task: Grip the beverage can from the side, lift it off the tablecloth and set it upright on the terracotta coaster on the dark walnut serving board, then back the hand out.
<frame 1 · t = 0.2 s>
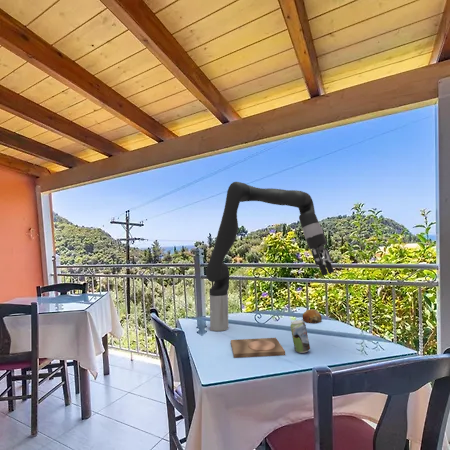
hand: (328, 273, 123), 31 cm above the table, tool tilted 20°, fingers open, 8 cm apart
serving board: (256, 348, 126), on the table
bread roll: (312, 321, 164), on the table
beverage can: (300, 351, 122), on the table
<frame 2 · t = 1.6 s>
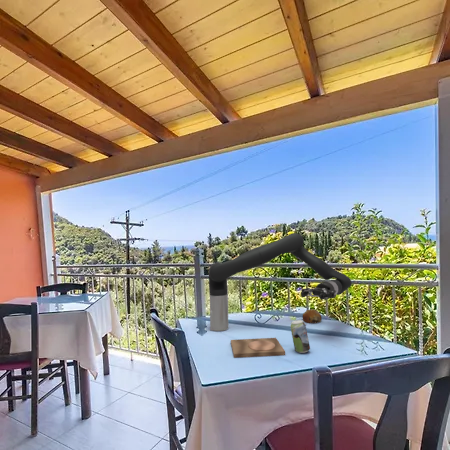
hand: (311, 295, 131), 20 cm above the table, tool horizontal, fingers open, 8 cm apart
nothing on the table moved.
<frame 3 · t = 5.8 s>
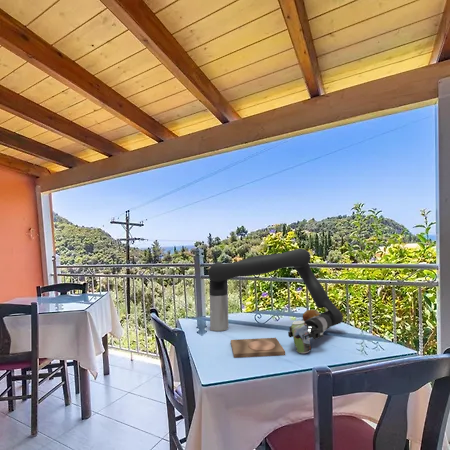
hand: (296, 336, 121), 7 cm above the table, tool horizontal, fingers open, 5 cm apart
beverage can: (301, 352, 122), on the table, touching gripper
everything else where it was.
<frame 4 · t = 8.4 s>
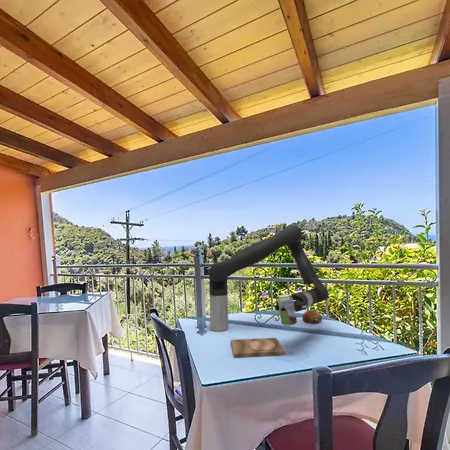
hand: (280, 308, 122), 17 cm above the table, tool horizontal, fingers closed on beverage can, 3 cm apart
beverage can: (287, 325, 122), point 11 cm above the table, touching gripper
everything else where it was.
when the fingers open (10 cm above the table, at t = 10.7 s): beverage can drops 1 cm, resting on serving board.
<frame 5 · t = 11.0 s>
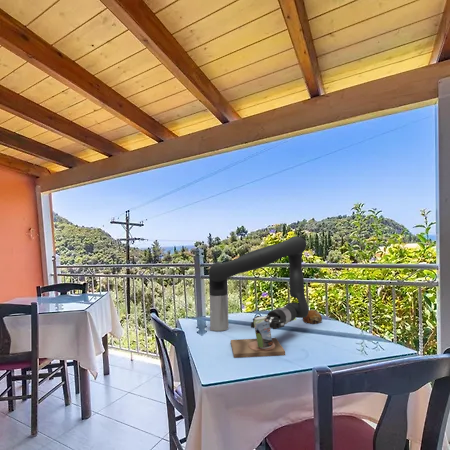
hand: (257, 326, 124), 10 cm above the table, tool horizontal, fingers open, 4 cm apart
beverage can: (263, 347, 123), point 2 cm above the table, touching serving board
everything else where it was.
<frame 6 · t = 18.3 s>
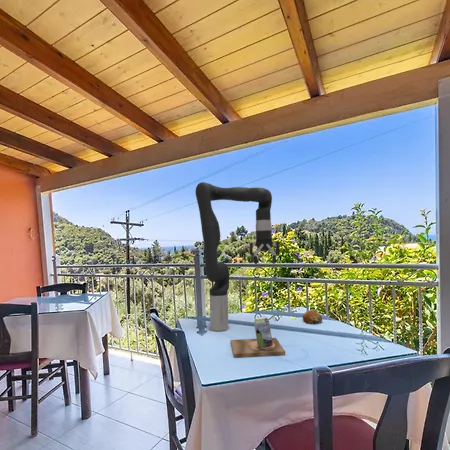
hand: (264, 263, 146), 33 cm above the table, tool pointing down, fingers open, 8 cm apart
at the end: beverage can inside the target area on the serving board (2.7 cm from its centre), point 1.6 cm above the serving board's base; beverage can tilted 0°; the gripper is holding nothing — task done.
